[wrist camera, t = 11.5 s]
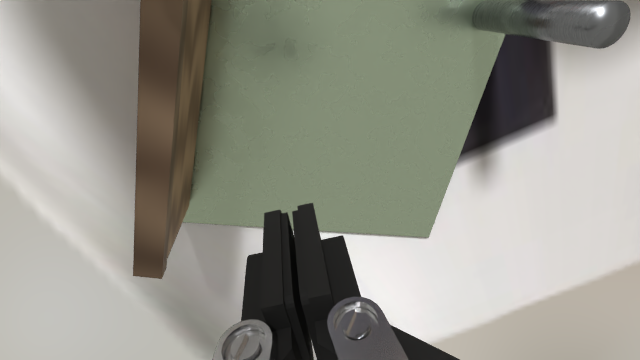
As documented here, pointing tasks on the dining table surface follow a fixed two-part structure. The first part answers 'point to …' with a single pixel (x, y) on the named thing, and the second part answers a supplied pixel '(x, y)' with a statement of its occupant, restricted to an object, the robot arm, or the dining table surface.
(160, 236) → the gate
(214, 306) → the dining table surface
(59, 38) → the dining table surface
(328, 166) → the gate frame
